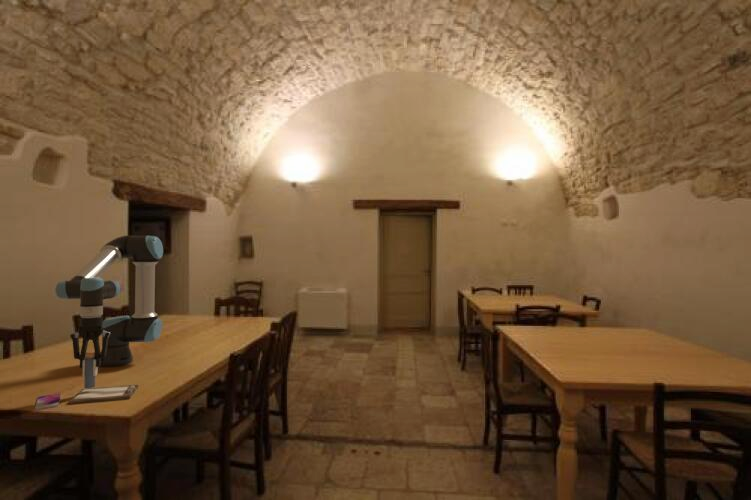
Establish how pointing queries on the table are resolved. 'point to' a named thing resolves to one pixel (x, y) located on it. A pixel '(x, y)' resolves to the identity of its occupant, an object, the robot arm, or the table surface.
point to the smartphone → (47, 401)
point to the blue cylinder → (89, 370)
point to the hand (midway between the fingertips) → (90, 375)
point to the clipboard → (103, 394)
